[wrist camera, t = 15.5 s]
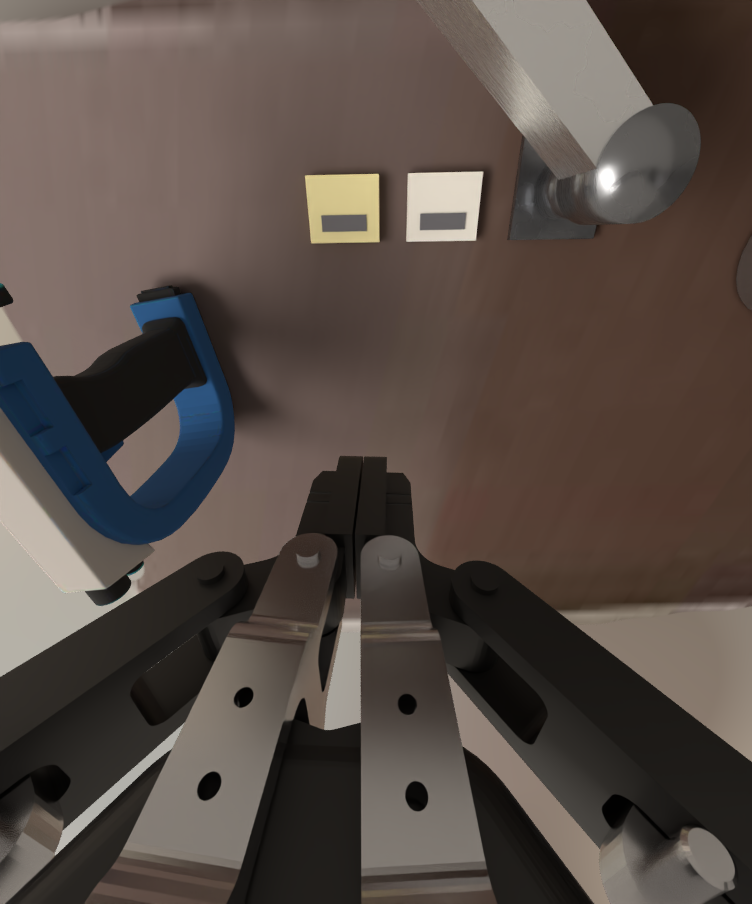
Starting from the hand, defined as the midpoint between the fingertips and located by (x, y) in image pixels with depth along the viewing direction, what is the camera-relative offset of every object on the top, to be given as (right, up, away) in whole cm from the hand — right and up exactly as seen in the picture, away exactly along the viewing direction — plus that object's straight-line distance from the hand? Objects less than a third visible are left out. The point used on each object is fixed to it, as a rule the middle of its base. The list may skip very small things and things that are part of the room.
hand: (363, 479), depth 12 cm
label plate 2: (+5, +18, +14) cm, 24 cm away
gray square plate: (+13, +19, +14) cm, 27 cm away
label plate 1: (-2, +18, +15) cm, 24 cm away
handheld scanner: (-16, +9, +21) cm, 28 cm away
